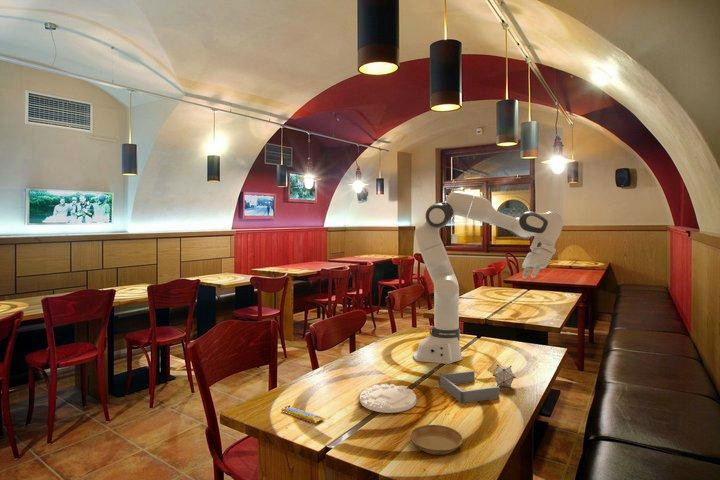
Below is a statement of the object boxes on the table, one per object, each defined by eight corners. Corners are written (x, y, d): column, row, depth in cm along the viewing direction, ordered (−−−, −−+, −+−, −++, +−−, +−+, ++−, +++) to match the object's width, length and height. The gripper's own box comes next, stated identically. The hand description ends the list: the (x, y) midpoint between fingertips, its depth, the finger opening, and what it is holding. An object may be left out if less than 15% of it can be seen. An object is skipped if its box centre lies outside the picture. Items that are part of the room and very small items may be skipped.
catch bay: (473, 380, 174) (473, 370, 173) (499, 398, 156) (499, 387, 156) (438, 384, 169) (438, 374, 169) (461, 403, 152) (461, 391, 152)
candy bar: (279, 413, 147) (279, 407, 147) (288, 408, 150) (288, 403, 150) (316, 427, 137) (316, 421, 137) (325, 421, 140) (325, 416, 140)
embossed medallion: (377, 420, 141) (377, 411, 141) (350, 397, 159) (350, 390, 158) (427, 407, 150) (427, 398, 150) (397, 387, 168) (396, 379, 168)
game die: (507, 394, 168) (521, 373, 169) (507, 394, 161) (522, 372, 161) (487, 379, 172) (501, 358, 173) (485, 379, 165) (500, 357, 165)
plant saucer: (404, 453, 120) (404, 444, 120) (416, 429, 134) (416, 421, 134) (458, 463, 115) (458, 454, 115) (465, 437, 129) (465, 429, 129)
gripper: (526, 247, 198) (513, 274, 197) (543, 242, 178) (530, 273, 177) (538, 253, 198) (526, 281, 196) (558, 249, 177) (544, 280, 176)
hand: (528, 277), depth 186 cm, fingers open, 8 cm apart
